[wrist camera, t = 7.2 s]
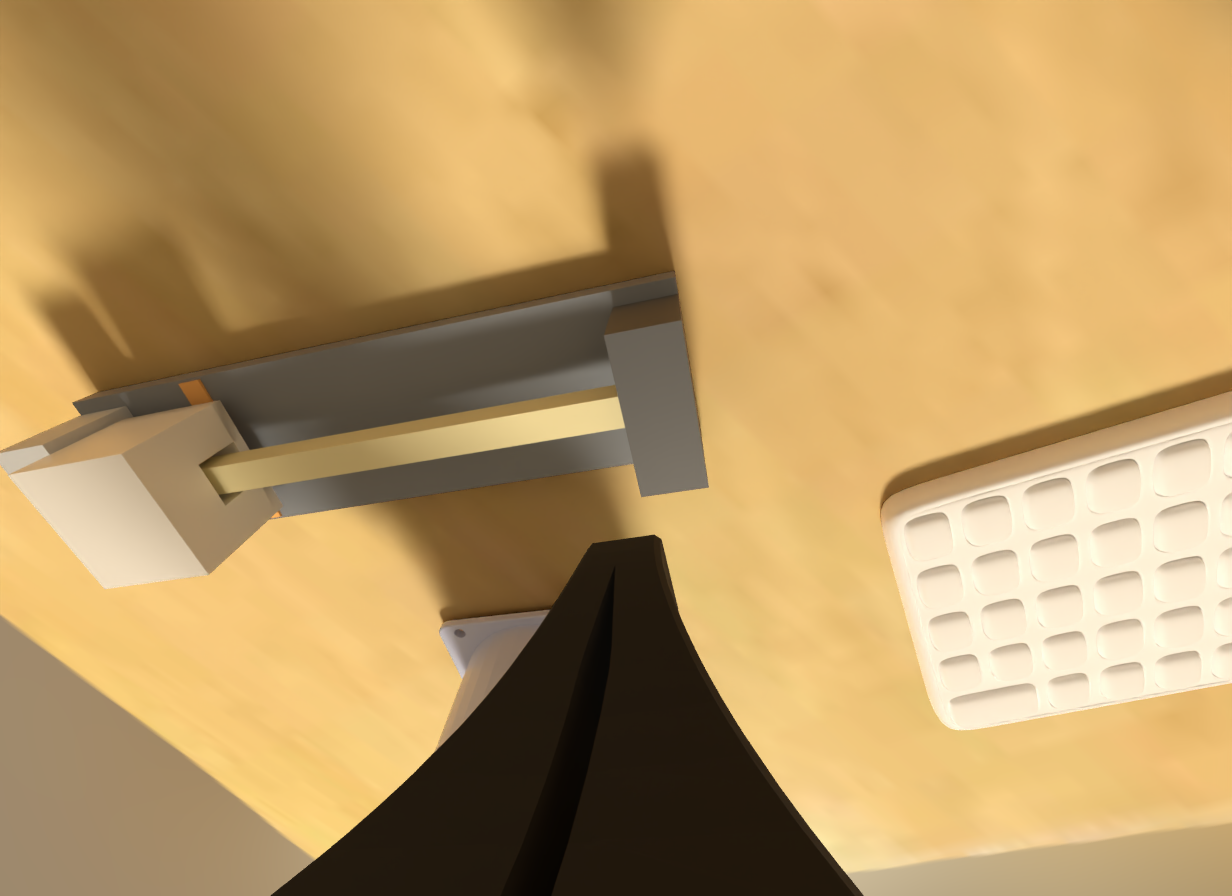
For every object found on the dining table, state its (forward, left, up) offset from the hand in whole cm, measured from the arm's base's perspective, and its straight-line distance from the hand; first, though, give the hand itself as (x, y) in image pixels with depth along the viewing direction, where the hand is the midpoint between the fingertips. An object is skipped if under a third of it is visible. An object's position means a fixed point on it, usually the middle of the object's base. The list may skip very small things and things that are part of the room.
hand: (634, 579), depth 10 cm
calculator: (-19, +10, -10) cm, 24 cm away
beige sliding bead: (+16, -1, -8) cm, 18 cm away
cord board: (+9, -1, -9) cm, 13 cm away
